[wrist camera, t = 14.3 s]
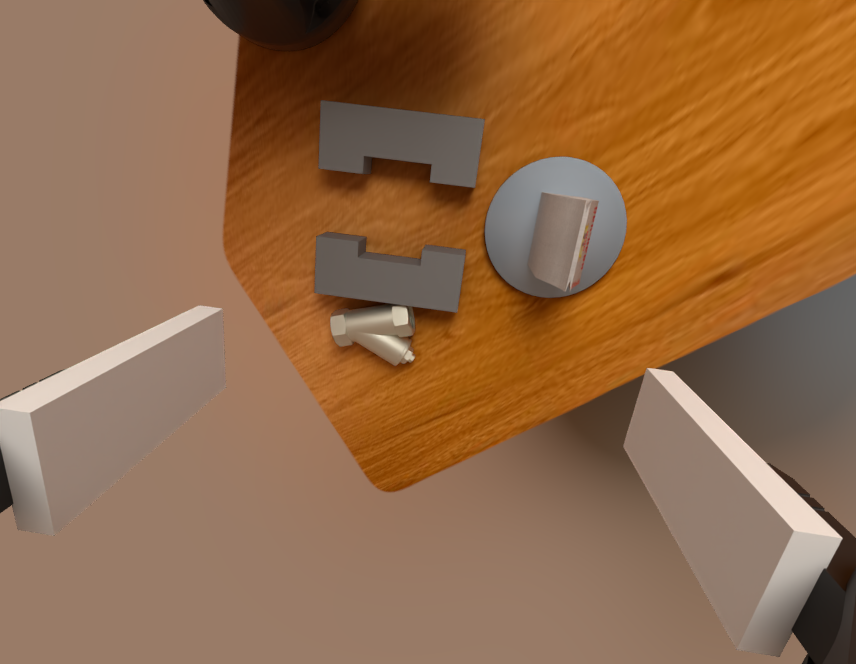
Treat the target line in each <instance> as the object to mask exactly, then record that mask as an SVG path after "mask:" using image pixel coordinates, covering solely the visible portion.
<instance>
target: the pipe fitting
mask: <svg viewBox="0 0 856 664" xmlns="http://www.w3.org/2000/svg"><path fill="white" fill-rule="evenodd" d="M330 327H331V332H332V336H333V339H334V341H335V342H336V343H337V344H338V345H339V346H340V347H341V346H348V345H352V344H353V343H354V342H357V343H358V344H360V345H362V346H363V347H365V348H366V349H368V350H370V351H371V352H373V353H375V354H376V355H378V356H379V357H381V358H383V359H384V360H386V361H388V362H389V363H391V364H392V365H394V366H396V365H398V364H399V362H401V363H403V364H405V363H406V362H407V361H408V362H410V363H411V362H412V361H413V360H414V358H415V354H413V350H414V349H413V348H412V347H411V346H410V345H411V342H412V340H411V339H410V338H408V337H407V336H412V335H413V334H414V332H415V319H414V312H413V308H412V306H406V305H398V304H391V303H390V304H384V305H378V306H372V307H366V308H360V309H354V310H349V309H348V308H344V309H338V310H335V311H334V312H333V313H332V314H331V318H330Z"/></svg>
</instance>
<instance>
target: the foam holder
mask: <svg viewBox="0 0 856 664" xmlns="http://www.w3.org/2000/svg"><path fill="white" fill-rule="evenodd" d="M484 121H485V119H478V118H470V117H461V116H452V115H444V114H435V113H427V112H418V111H410V110H401V109H392V108H384V107H375V106H367V105H358V104H349V103H341V102H332V101H324V100H321V110H320V140H319V169H327V170H335V171H343V172H351V173H359V174H371V166H372V157H374V158H382V159H390V160H398V161H407V162H415V163H423V164H431V165H432V167H431V176H430V182H432V183H440V184H448V185H456V186H464V187H472V188H475V184H476V177H477V170H478V163H479V156H480V149H481V142H482V135H483V128H484ZM366 239H367V237H363V236H356V235H348V234H340V233H333V232H326V233H323V234H321V235H318V236H316V264H315V293H318V294H325V295H333V296H340V297H347V298H354V299H362V300H369V301H376V302H384V303H391V304H398V305H406V306H413V307H420V308H428V309H435V310H442V311H449V312H457V310H458V303H459V296H460V289H461V282H462V275H463V268H464V261H465V253H466V250H463V249H456V248H448V247H440V246H433V245H425V247H424V248H423V250H422V257H421V259H416V258H409V257H401V256H394V255H386V254H379V253H371V252H366Z"/></svg>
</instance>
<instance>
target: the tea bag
mask: <svg viewBox="0 0 856 664" xmlns="http://www.w3.org/2000/svg"><path fill="white" fill-rule="evenodd" d="M598 203H599V201H597V200H593V199H588V198H583V197H576V196H568V195H561V194H553V193H545V192H542V193H541V198H540V203H539V208H538V214H537V219H536V224H535V229H534V234H533V239H532V244H531V249H530V254H529V259H528V266H529V268H530V269H531V271H532V273H533V274H534V276H535V277H536V278H538V279H540V280H542V281H545V282H547V283H549V284H551V285H554V286H556V287H558V288H560V289H561V290H563V291H566V289H567V287H568V286H569V289H570V290H571V289H572V288H573V287H574V286H576V285H578V284H579V282H580V278H581V274H582V270H583V266H584V261H585V257H586V253H587V249H588V245H589V241H590V236H591V232H592V228H593V224H594V220H595V215H596V211H597V207H598Z"/></svg>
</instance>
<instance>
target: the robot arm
mask: <svg viewBox="0 0 856 664" xmlns="http://www.w3.org/2000/svg"><path fill="white" fill-rule="evenodd" d="M203 1H204V2H205V4H206V5H207V6H208V8H209V9H210V10H211V11H212V12H213V13H214V14H215V15H216V16H217V18H219V19H220V20H221V21H222V22H223V23H224V24H225V25H226V26H228V27H229V28H230V29H232V30H233V31H235V32H236V33H238V34H239V35H241V36H242V37H244V38H246V39H247V40H249V41H251V42H253V43H255V44H257V45H259V46H262V47H265V48H268V49H272V50H278V51H295V50H301V49H305V48H309V47H311V46H314V45H316V44H318V43H320V42H322V41H324V40H325V39H327V38H328V37H330V36H331V35H332V34H333V33H334V32H336V31H337V30H338V29H339V28H340V27H341V26H342V24H343V23H344V22H345V21H346V19H347V18H348V17H349V15H350V14H351V12H352V10H353V9H354V7H355V5H356V3H357V1H358V0H203ZM225 388H226V380H225V352H224V326H223V309H222V308H214V307H208V306H200V305H199V306H197V307H195V308H193V309H191V310H189V311H186V312H184V313H182V314H180V315H178V316H176V317H174V318H172V319H170V320H168V321H166V322H164V323H162V324H159V325H157V326H155V327H153V328H151V329H149V330H147V331H145V332H143V333H141V334H139V335H137V336H135V337H132V338H130V339H128V340H127V341H124V342H122V343H120V344H118V345H116V346H114V347H112V348H109V349H108V350H105V351H103V352H101V353H99V354H97V355H95V356H93V357H91V358H89V359H87V360H85V361H83V362H81V363H78V364H76V365H74V366H72V367H70V368H68V369H64V370H61V371H58V372H56V373H54V374H52V375H50V376H48V377H46V378H44V379H42V380H40V381H39V383H33V384H31V385H29V386H27V387H25V388H23V390H22V391H17V392H14V393H12V394H11V395H8V396H6V397H4V398H2V399H0V513H1V512H3V511H4V510H5V509H7V508H8V507H10V506H11V505H12V507H13V512H14V516H15V520H16V524H17V529H18V530H23V531H29V532H35V533H41V534H47V535H53V536H55V535H56V534H57V533H58V532H60V531H61V530H62V529H63V528H64V527H65V526H66V525H68V524H69V523H70V522H71V521H72V520H73V519H75V517H77V516H78V515H79V514H80V513H81V512H82V511H84V510H85V509H86V508H87V507H88V506H89V505H91V504H92V503H93V502H94V501H95V500H96V499H97V498H99V497H100V496H101V495H102V494H103V493H104V492H106V491H107V490H108V489H109V488H110V487H111V486H112V485H114V484H115V483H116V482H117V481H118V480H119V479H121V478H122V477H123V476H124V475H125V474H126V473H128V472H129V471H130V470H131V469H132V468H133V467H134V466H136V465H137V464H138V463H139V462H140V461H141V460H143V458H145V457H146V456H147V455H148V454H149V453H151V452H152V451H153V450H154V449H155V448H156V447H158V446H159V445H160V444H161V443H162V442H163V441H164V440H166V439H167V438H168V437H169V436H170V435H171V434H173V433H174V432H175V431H176V430H177V429H178V428H179V427H181V426H182V425H183V424H184V423H185V422H186V421H188V420H189V419H190V418H191V417H192V416H193V415H195V413H197V412H198V411H199V410H200V409H201V408H203V407H204V406H205V405H206V404H207V403H208V402H210V401H211V399H213V398H214V397H215V396H216V395H217V394H219V393H220V392H221V391H222V390H223V389H225ZM623 447H624V449H625V450H626V452H627V454H628V456H629V458H630V459H631V461H632V463H633V464H634V467H635V468H636V470H637V472H638V474H639V475H640V477H641V479H642V481H643V483H644V485H645V486H646V488H647V490H648V492H649V493H650V495H651V497H652V499H653V501H654V502H655V504H656V506H657V508H658V510H659V511H660V513H661V515H662V517H663V519H664V520H665V522H666V524H667V526H668V528H669V529H670V531H671V533H672V535H673V537H674V538H675V540H676V542H677V544H678V546H679V547H680V549H681V551H682V553H683V555H684V556H685V558H686V560H687V562H688V564H689V565H690V567H691V568H692V571H693V573H694V574H695V576H696V578H697V580H698V582H699V583H700V585H701V587H702V589H703V591H704V592H705V594H706V596H707V598H708V600H709V601H710V603H711V605H712V607H713V608H714V610H715V612H716V614H717V616H718V618H719V619H720V621H721V623H722V625H723V626H724V628H725V630H726V632H727V634H728V635H729V637H730V639H731V641H732V643H733V644H734V646H735V648H736V650H741V651H747V652H753V653H759V654H765V655H771V656H776V657H780V655H781V653H782V651H783V649H784V647H785V645H786V644H787V642H788V640H789V638H790V636H791V634H792V632H793V633H794V634H795V636H796V637H797V639H798V640H799V641H800V643H801V644H802V646H803V647H804V648H805V650H806V651H807V653H808V654H807V655H806V657H805V659H804V661H803V663H802V664H856V538H855V537H854V536H853V535H852V534H851V533H850V532H849V531H848V530H847V529H846V528H844V527H843V526H842V525H841V524H840V523H839V522H838V521H837V520H836V519H835V518H834V517H833V516H832V515H831V514H830V513H829V512H825V511H824V508H823V507H822V506H821V505H820V504H819V503H818V502H817V501H816V500H815V499H814V498H810V494H809V493H808V492H807V491H806V490H804V489H803V488H802V487H801V486H800V485H799V484H798V483H797V482H796V481H795V480H794V479H793V478H791V477H790V476H788V475H787V474H785V473H783V472H782V471H780V470H779V469H777V468H776V467H774V466H773V465H771V464H769V463H765V462H764V461H763V460H762V459H761V458H760V457H759V456H758V455H757V454H756V453H755V452H754V451H753V450H752V449H751V448H750V447H749V446H748V445H747V444H746V443H745V442H744V441H743V440H742V439H741V438H740V437H739V436H738V435H737V434H736V433H735V432H734V431H733V430H732V429H730V427H729V426H728V425H727V424H726V423H725V422H724V421H723V420H722V419H721V418H720V417H719V416H718V415H716V413H714V411H712V410H711V409H710V408H709V407H708V406H707V405H706V404H705V403H704V402H703V401H702V400H701V399H700V398H699V397H698V396H697V395H696V394H695V393H694V392H693V391H692V390H691V389H690V388H689V387H688V386H687V385H686V384H685V383H684V382H683V381H682V380H681V379H680V378H679V377H678V376H677V375H676V374H675V373H674V372H672V371H665V370H658V369H651V368H647V369H646V373H645V376H644V379H643V383H642V386H641V389H640V393H639V396H638V399H637V402H636V406H635V409H634V412H633V416H632V419H631V422H630V426H629V429H628V432H627V436H626V439H625V442H624V446H623Z"/></svg>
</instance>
